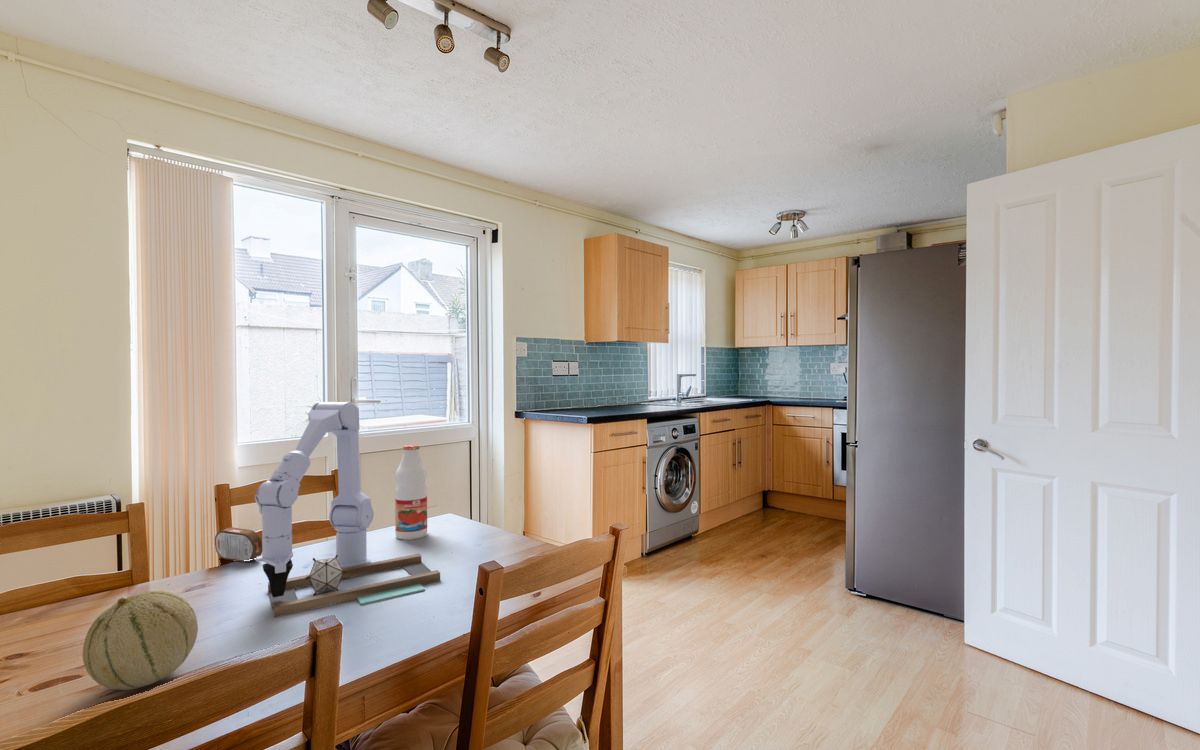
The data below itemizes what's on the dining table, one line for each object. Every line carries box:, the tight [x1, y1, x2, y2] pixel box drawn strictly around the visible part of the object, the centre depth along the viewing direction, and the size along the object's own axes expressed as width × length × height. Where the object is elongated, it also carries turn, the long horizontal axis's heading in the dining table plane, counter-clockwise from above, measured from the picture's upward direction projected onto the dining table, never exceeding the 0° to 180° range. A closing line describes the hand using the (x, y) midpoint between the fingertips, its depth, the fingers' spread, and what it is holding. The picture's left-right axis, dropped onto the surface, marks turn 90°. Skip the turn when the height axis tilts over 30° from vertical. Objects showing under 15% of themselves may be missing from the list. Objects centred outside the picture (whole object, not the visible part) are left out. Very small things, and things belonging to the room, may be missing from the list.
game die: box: [306, 554, 346, 596], centre depth 130 cm, size 9×8×10 cm
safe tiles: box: [356, 584, 426, 606], centre depth 137 cm, size 25×14×1 cm, turn 35°
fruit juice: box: [394, 444, 428, 541], centre depth 173 cm, size 9×9×28 cm
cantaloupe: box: [82, 590, 199, 691], centre depth 92 cm, size 15×15×15 cm
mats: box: [268, 561, 432, 613], centre depth 133 cm, size 13×35×1 cm, turn 125°
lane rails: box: [267, 553, 441, 618], centre depth 133 cm, size 17×35×2 cm, turn 125°
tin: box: [214, 526, 263, 563], centre depth 152 cm, size 15×3×8 cm, turn 71°
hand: (277, 595), depth 124 cm, fingers closed
